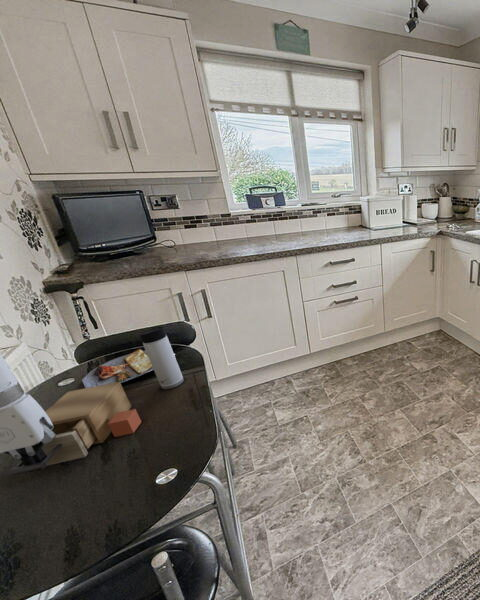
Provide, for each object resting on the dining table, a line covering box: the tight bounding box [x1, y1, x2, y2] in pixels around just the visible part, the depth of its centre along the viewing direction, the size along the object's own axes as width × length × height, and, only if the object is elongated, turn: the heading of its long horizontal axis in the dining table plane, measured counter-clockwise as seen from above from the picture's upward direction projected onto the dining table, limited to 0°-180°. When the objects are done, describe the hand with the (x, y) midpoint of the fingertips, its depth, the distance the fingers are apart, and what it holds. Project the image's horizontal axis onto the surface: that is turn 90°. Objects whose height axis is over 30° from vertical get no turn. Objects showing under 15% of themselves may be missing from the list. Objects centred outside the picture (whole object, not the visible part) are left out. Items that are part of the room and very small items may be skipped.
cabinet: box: [44, 382, 132, 446], centre depth 87 cm, size 15×13×9 cm
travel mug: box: [139, 326, 185, 390], centre depth 102 cm, size 6×7×20 cm
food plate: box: [81, 348, 154, 389], centre depth 115 cm, size 25×23×4 cm
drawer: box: [6, 418, 97, 477], centre depth 78 cm, size 20×11×7 cm, turn 15°
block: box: [108, 408, 142, 438], centre depth 86 cm, size 4×4×4 cm
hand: (39, 466), depth 72 cm, fingers closed
